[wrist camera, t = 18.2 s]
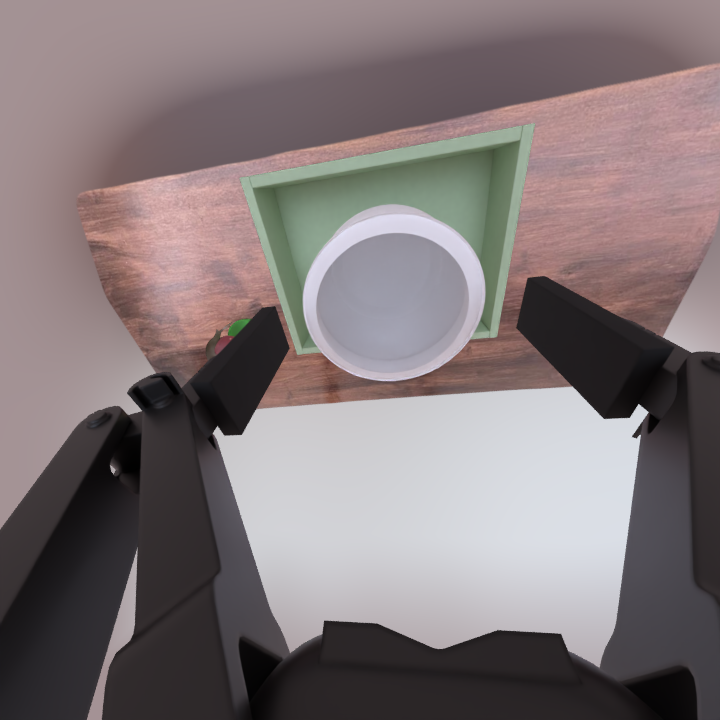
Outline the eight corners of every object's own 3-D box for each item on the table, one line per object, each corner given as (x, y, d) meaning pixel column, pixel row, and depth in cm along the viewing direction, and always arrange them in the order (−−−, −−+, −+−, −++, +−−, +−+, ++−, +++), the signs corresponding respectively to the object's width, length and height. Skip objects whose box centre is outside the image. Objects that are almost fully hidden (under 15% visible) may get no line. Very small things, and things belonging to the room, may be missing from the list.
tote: (308, 330, 34) (297, 354, 29) (266, 179, 25) (238, 177, 20) (478, 313, 31) (496, 337, 26) (500, 137, 22) (535, 122, 17)
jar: (421, 179, 23) (471, 169, 11) (444, 284, 28) (495, 358, 16) (318, 226, 26) (264, 261, 14) (356, 314, 31) (343, 398, 19)
